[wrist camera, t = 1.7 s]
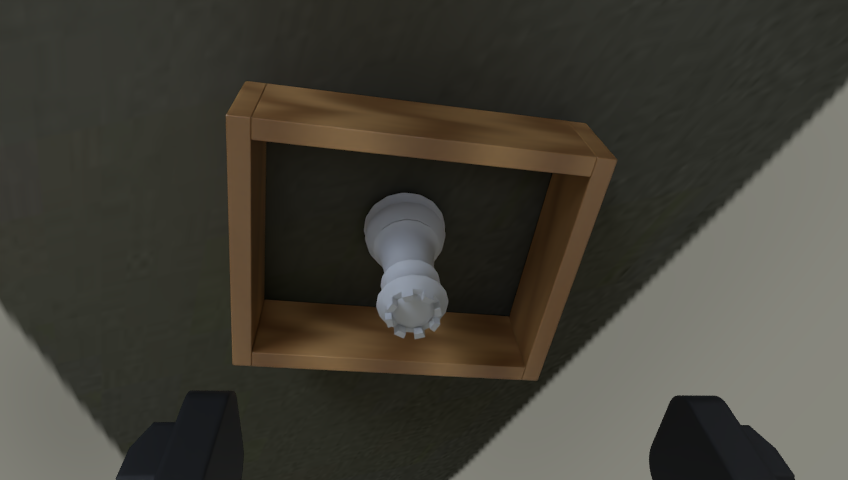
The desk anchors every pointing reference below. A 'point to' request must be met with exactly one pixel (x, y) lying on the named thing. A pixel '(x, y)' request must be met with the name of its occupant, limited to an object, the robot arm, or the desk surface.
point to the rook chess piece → (408, 262)
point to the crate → (419, 138)
